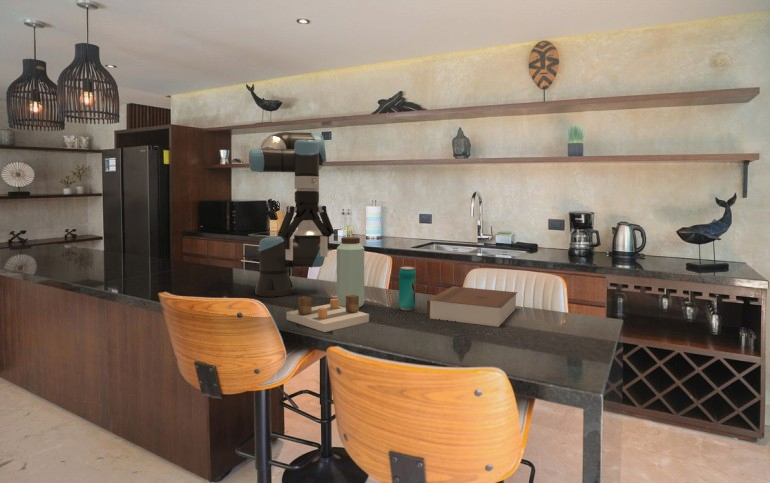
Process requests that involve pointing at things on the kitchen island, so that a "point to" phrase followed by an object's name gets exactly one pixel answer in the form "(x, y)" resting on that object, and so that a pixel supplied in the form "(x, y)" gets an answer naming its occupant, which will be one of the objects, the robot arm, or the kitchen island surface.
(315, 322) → the switch board
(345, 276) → the water bottle
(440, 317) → the book
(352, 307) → the tab
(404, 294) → the beverage can
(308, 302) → the tab
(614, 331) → the kitchen island surface
